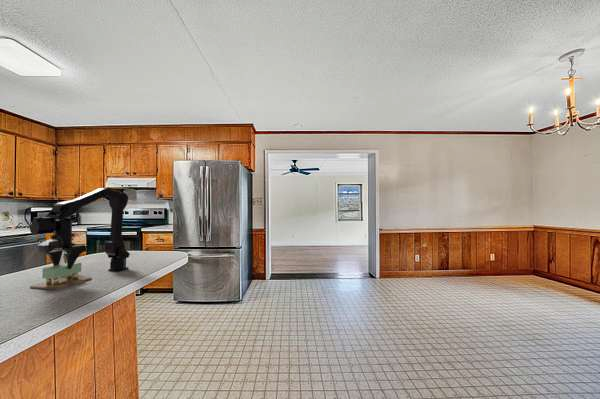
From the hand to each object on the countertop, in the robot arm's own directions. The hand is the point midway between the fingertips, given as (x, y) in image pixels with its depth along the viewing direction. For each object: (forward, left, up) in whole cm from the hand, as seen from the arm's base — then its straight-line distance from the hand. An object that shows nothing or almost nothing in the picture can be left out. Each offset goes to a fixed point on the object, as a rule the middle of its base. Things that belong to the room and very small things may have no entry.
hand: (62, 268), depth 119 cm
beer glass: (-13, -16, -7) cm, 22 cm away
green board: (0, 0, -3) cm, 3 cm away
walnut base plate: (0, 0, -6) cm, 6 cm away
